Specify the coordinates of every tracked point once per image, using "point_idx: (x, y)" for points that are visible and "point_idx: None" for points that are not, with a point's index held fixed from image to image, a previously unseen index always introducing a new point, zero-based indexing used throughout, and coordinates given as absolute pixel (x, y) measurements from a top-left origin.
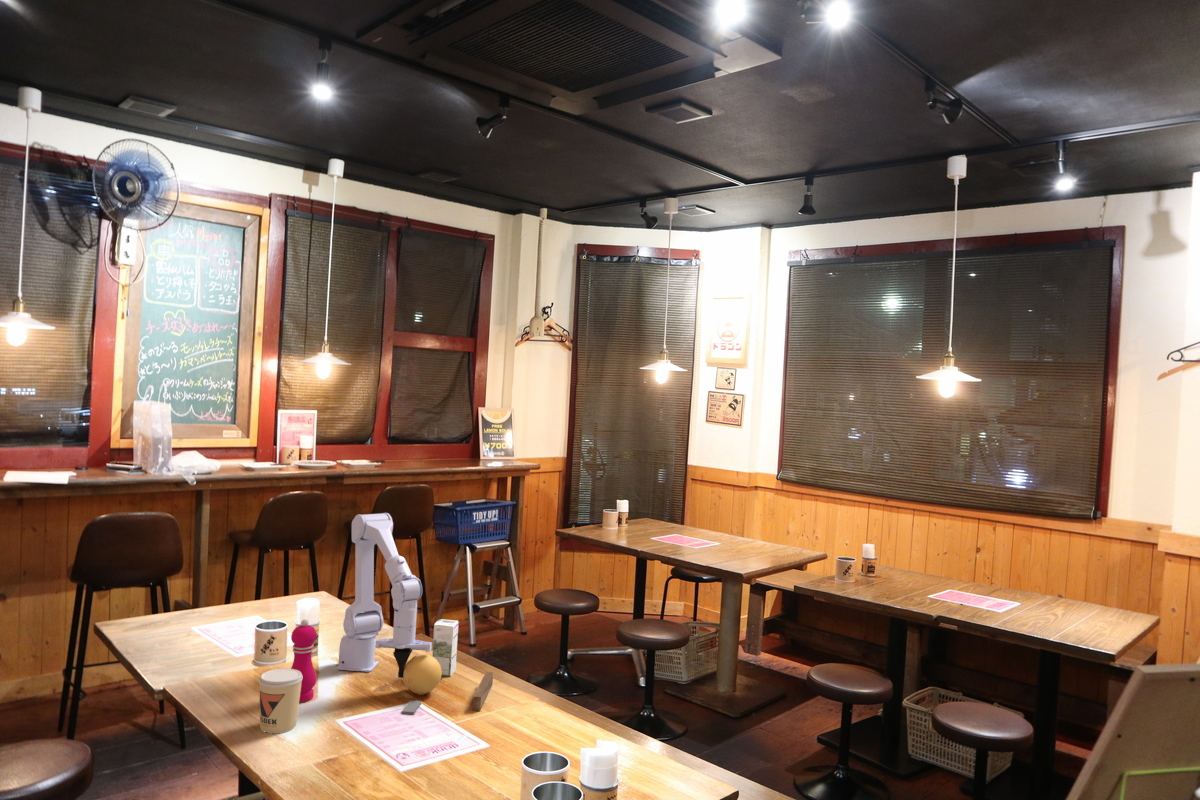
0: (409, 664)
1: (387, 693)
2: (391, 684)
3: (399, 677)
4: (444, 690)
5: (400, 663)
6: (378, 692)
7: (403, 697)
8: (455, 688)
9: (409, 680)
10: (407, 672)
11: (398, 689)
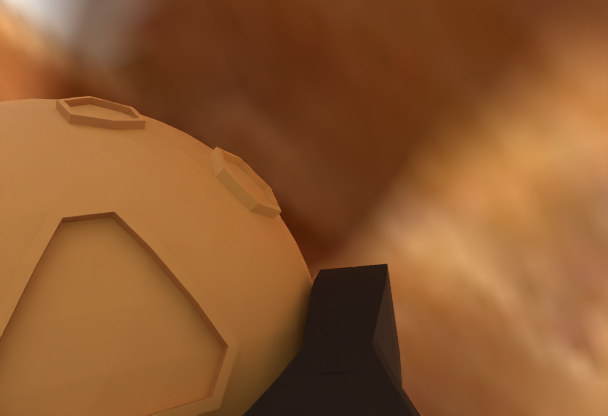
0: (84, 374)
1: (482, 137)
2: (526, 348)
3: (369, 266)
4: None
5: (327, 399)
6: (595, 131)
7: (271, 90)
8: None
9: (103, 113)
10: (121, 203)
11: (412, 262)
